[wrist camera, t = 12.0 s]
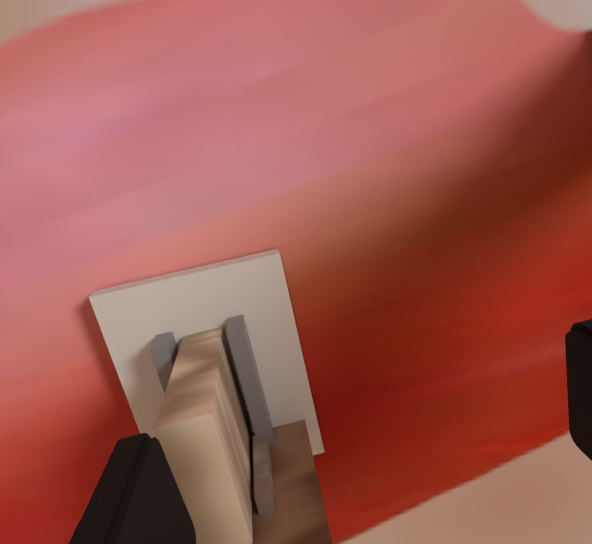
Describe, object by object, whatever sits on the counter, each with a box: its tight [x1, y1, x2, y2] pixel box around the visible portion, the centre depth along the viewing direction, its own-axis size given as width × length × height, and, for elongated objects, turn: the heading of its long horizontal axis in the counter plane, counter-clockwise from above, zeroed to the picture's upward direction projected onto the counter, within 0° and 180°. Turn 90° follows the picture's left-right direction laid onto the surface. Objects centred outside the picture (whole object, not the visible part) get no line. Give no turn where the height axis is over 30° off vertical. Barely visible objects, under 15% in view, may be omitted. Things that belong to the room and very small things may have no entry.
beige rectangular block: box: [154, 327, 253, 544], centre depth 29 cm, size 3×9×11 cm, turn 12°
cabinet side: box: [196, 419, 332, 544], centre depth 30 cm, size 12×3×12 cm, turn 102°
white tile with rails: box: [89, 249, 325, 455], centre depth 34 cm, size 14×18×4 cm
